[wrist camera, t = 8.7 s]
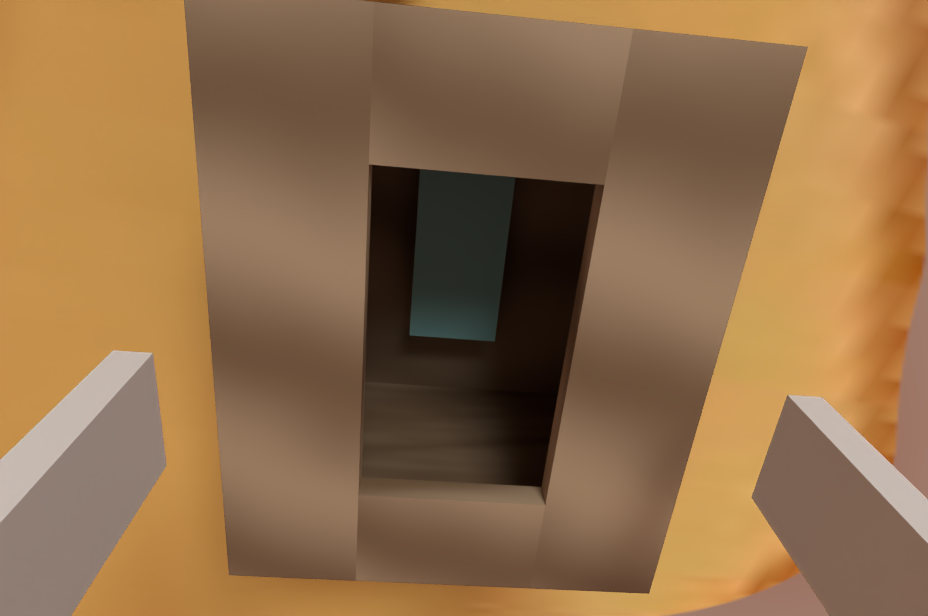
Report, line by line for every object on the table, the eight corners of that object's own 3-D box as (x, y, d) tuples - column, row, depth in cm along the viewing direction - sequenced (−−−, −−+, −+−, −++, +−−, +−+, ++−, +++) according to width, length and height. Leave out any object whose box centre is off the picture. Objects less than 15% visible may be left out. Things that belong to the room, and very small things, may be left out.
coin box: (298, 3, 23) (182, -19, 12) (651, 39, 23) (807, 47, 13) (303, 386, 29) (228, 575, 19) (579, 403, 30) (648, 593, 20)
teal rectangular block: (423, 145, 24) (420, 156, 22) (510, 152, 24) (516, 165, 22) (412, 310, 27) (409, 335, 25) (490, 316, 27) (494, 341, 25)
